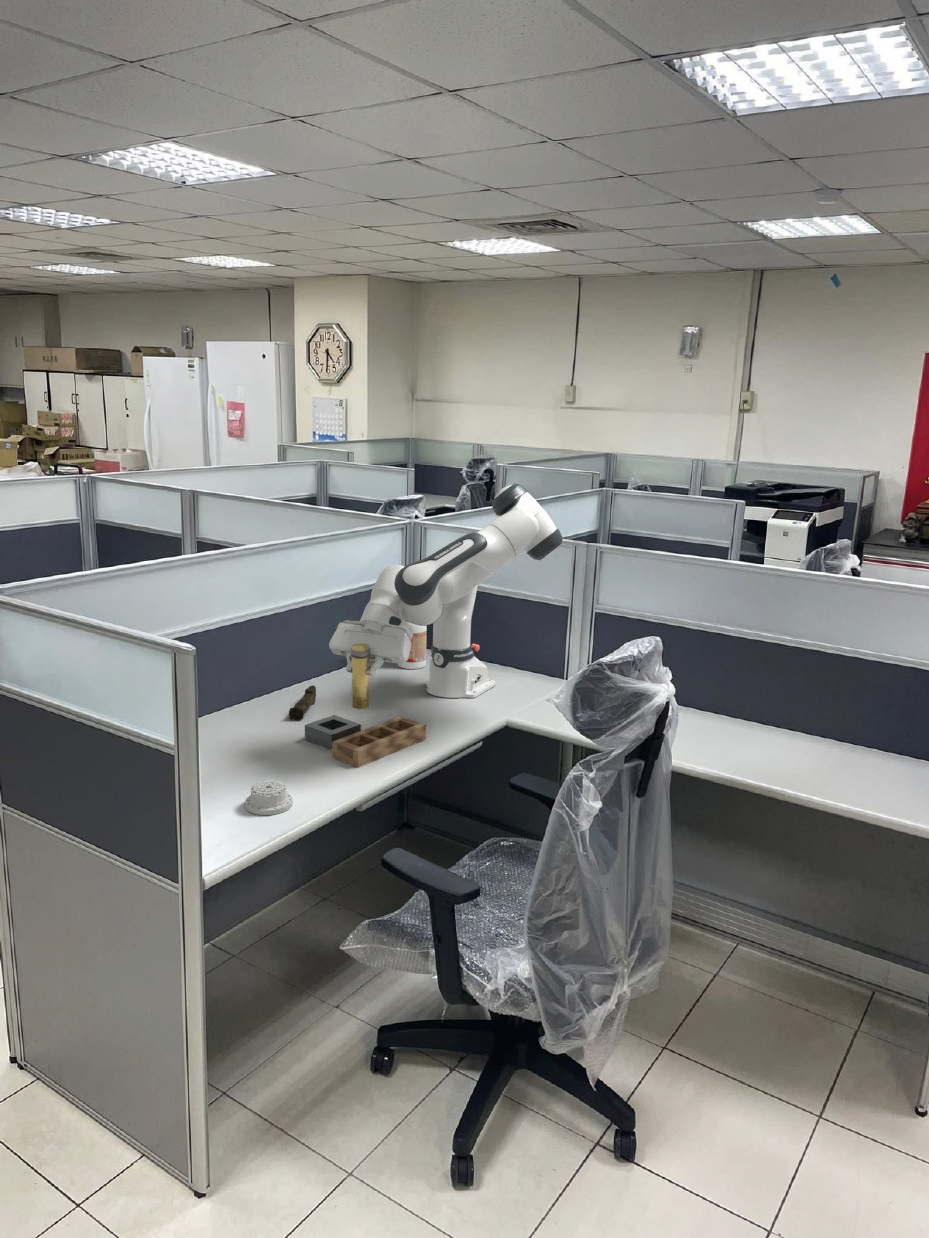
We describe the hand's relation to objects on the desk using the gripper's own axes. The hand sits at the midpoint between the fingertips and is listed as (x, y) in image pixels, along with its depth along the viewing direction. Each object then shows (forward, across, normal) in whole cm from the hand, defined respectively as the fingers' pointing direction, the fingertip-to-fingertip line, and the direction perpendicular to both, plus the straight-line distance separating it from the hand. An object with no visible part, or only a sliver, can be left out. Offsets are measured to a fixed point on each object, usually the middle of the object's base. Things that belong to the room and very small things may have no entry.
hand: (359, 673), depth 211 cm
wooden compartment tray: (+10, +2, +20) cm, 23 cm away
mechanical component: (+37, -5, -6) cm, 38 cm away
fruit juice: (-37, -21, +68) cm, 80 cm away
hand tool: (-1, -31, +32) cm, 44 cm away
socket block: (+10, -12, +20) cm, 26 cm away
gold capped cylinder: (+6, 0, +6) cm, 8 cm away
